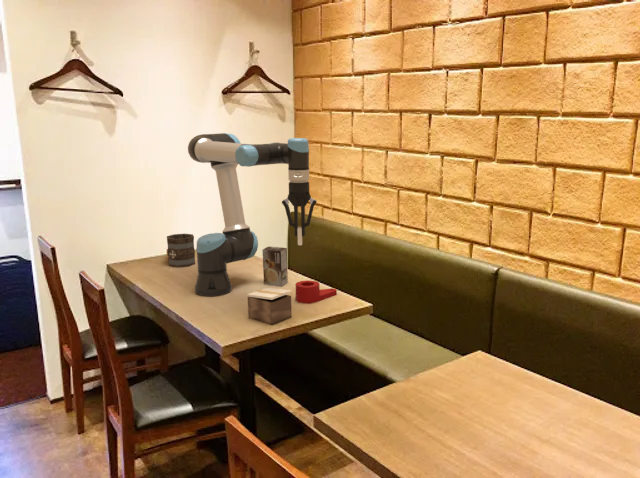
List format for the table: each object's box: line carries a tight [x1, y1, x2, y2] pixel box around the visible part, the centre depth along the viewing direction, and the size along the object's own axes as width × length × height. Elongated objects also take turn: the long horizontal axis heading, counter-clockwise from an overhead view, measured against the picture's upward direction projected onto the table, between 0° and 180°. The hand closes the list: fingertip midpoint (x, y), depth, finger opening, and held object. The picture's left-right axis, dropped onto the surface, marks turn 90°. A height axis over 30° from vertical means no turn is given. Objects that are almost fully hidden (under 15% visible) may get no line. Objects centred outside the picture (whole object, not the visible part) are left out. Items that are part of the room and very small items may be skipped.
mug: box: [166, 233, 196, 269], centre depth 276 cm, size 20×14×15 cm
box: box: [247, 294, 293, 326], centre depth 204 cm, size 12×10×8 cm
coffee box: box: [262, 246, 289, 288], centre depth 243 cm, size 9×6×16 cm
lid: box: [247, 287, 292, 300], centre depth 203 cm, size 12×10×1 cm
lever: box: [295, 280, 338, 304], centre depth 226 cm, size 18×9×7 cm, turn 121°
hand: (300, 244), depth 211 cm, fingers closed
